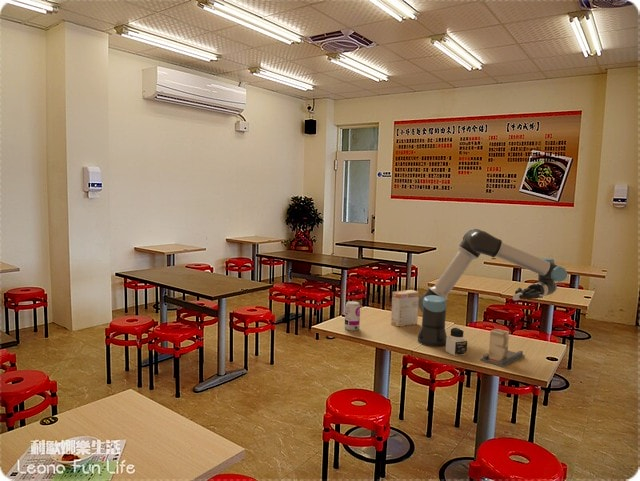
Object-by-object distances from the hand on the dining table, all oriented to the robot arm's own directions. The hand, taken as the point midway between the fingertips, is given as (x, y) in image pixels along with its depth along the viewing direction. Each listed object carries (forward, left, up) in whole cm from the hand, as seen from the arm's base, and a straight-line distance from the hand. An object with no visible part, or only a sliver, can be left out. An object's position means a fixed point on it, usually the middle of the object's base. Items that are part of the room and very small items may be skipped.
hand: (514, 297), depth 226 cm
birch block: (-4, -16, -27) cm, 31 cm away
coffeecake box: (-60, +22, -28) cm, 70 cm away
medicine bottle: (-23, -15, -28) cm, 39 cm away
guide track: (-2, -11, -28) cm, 30 cm away
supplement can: (-82, -5, -28) cm, 87 cm away
